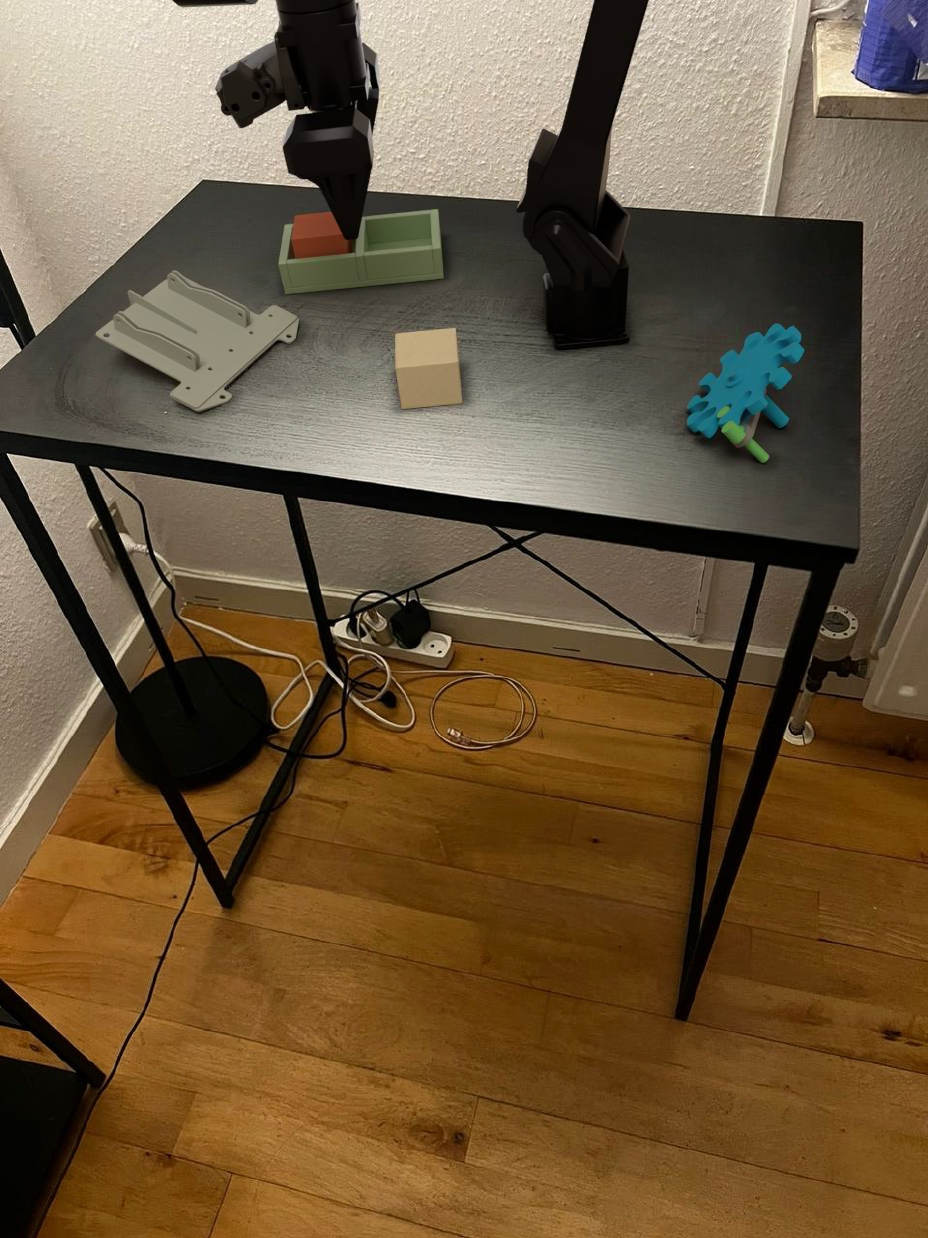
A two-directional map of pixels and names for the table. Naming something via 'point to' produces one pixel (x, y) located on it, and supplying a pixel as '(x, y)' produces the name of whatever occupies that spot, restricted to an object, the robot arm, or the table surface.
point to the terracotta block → (318, 236)
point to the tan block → (428, 368)
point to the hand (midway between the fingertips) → (354, 213)
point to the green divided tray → (370, 255)
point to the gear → (746, 388)
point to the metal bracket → (196, 337)
